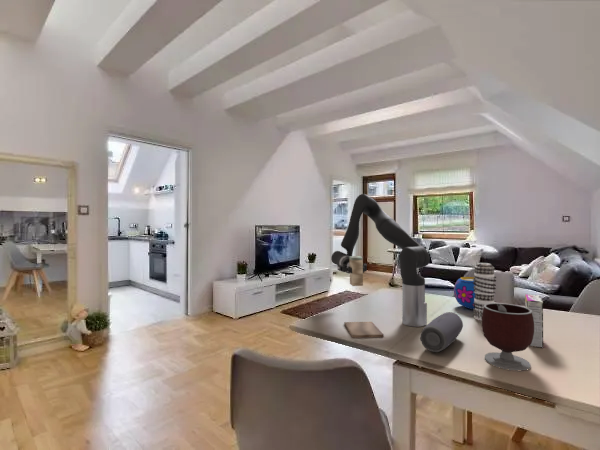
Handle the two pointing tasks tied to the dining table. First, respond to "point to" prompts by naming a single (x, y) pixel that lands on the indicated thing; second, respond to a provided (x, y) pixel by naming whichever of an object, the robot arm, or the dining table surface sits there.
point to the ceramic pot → (465, 292)
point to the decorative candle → (483, 287)
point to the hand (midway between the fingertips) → (357, 270)
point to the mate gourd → (507, 334)
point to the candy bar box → (536, 317)
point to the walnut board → (363, 329)
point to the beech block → (356, 270)
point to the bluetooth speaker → (441, 332)
